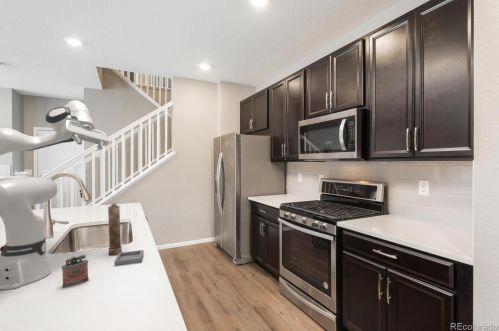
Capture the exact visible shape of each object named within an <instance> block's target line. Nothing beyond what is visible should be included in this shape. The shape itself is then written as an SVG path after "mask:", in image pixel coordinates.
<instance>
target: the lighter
mask: <svg viewBox="0 0 499 331" xmlns="http://www.w3.org/2000/svg"><path fill="white" fill-rule="evenodd" d="M86 258H87V257H86V254H80V255H77V256H75V255H72V256H71V258H66V259H65V264H63V265H62V266H61V270H62V271H61V272H62V288H63V289H64V288H69V287H73V286H77V285H81V284H83V283H86V282H89V280H90V278H89V264H88V263H89V260H88V259H86Z"/></svg>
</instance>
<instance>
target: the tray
mask: <svg viewBox="0 0 499 331" xmlns="http://www.w3.org/2000/svg"><path fill="white" fill-rule="evenodd" d="M143 257H144V249H140V250H132V251H122V252H121V253H119V254H118V255H116V258H115V260H114V261H113V262H114V263H113V264H114V267H119V266H125V265H133V264H140V263H142V261H143Z"/></svg>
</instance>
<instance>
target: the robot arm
mask: <svg viewBox="0 0 499 331" xmlns="http://www.w3.org/2000/svg"><path fill="white" fill-rule="evenodd" d="M44 118H45V122H46V123H48V125H49V127H50V128H51V129H53V130H54V132H53V133H52V132H51V133H48V134H43V135H38V136H32V135H28V134H25V133H22V132H20V131H18V130H16V129H14V128H9V127H0V156H3V155H5V154H8V153H13V152H19V151H22V152H23V151H25V152H30V151H31V152H32V151H35V150H39V149H43V148H47V147H48V148H49V147H51V146H56V145H60V144H64V143H72V142H76V145H79V146H81V145H82V144H83V141H84V142H88V143H91V144H95V145H97V146H96V148H97V150H103V149H104V147H105V146H107V145H108V144H109V143H110V139H109V136H108V135H107V133H106V132H104V131H102V130H100V129H96V127H95V124H94V121H93V118H92V116H91V113H90V110H89V109H88V107H87V105H86V104H85V103H84V102H82V101H81V100H74V99H73V100H70V101H69V102H67V104H65V105H64V106H60V107H54V108H52V109H50V110H49V111H48V112H47V113H46V115H45V117H44ZM103 146H104V147H103ZM57 185H58V184H56V182H55V181H54V180H53V179H51V178H47V177H38V176H24V175H23V176H22V175H1V174H0V218H1V220H2V223H3V224H4V229H5V230H4V231H5V244H4V245H2V246H0V290H1V291H2V290H12V289H13V290H14V289H17V288H20V287H22V286H25V285H27V284H29V283H33V282H36V281H40V280H41V279H43V278H45V277H47V276H48V275H49V274H51V272H52V270H51V268H50V266H49V264H48V259H47V255H46V252H47V241H46V238H45V227H44V226H45V225H44V219H43V218H42V217H40V216H38V215H36V214H35V213H34V211H33V209H32V206H34V205H35V206H36V205H38V204H39V205H40V204H43V203H46V202H48V201H50V200H52V199H54V198H55V197H56V196H57V193H58V186H57Z"/></svg>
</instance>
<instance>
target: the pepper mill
mask: <svg viewBox="0 0 499 331" xmlns="http://www.w3.org/2000/svg"><path fill="white" fill-rule="evenodd" d="M107 210H108V212H107V213H108V214H107V216H108V217H107V218H108V237H109V238H108V242H109V243H108V244H109V247H108V256H118V254H119V253H121V252H123V251H122V250H123V248H122V247H123V246H122V245H121V219H120V217H121V215H120V214H121V213H120V210H121V209H120V205H117V203H116V202H113V203H111V204H110V206H108V208H107Z"/></svg>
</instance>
